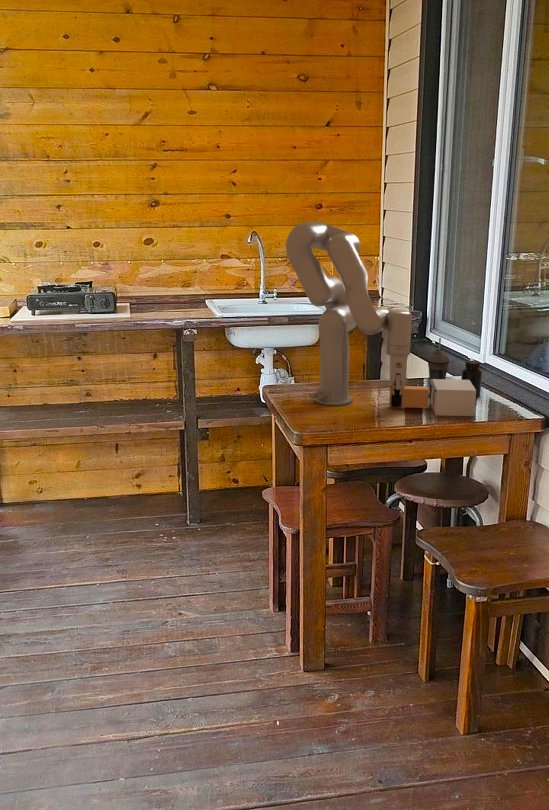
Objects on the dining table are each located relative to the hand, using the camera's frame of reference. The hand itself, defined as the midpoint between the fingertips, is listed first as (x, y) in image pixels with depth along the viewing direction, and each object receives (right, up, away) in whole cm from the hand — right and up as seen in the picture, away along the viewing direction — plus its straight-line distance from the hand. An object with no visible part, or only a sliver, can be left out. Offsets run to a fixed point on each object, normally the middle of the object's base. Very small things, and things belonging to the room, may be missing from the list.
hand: (395, 404), depth 244 cm
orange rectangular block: (+4, 0, 0) cm, 4 cm away
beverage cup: (+17, +4, +18) cm, 25 cm away
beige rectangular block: (+18, -2, -1) cm, 18 cm away
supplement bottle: (+28, +3, +15) cm, 32 cm away
